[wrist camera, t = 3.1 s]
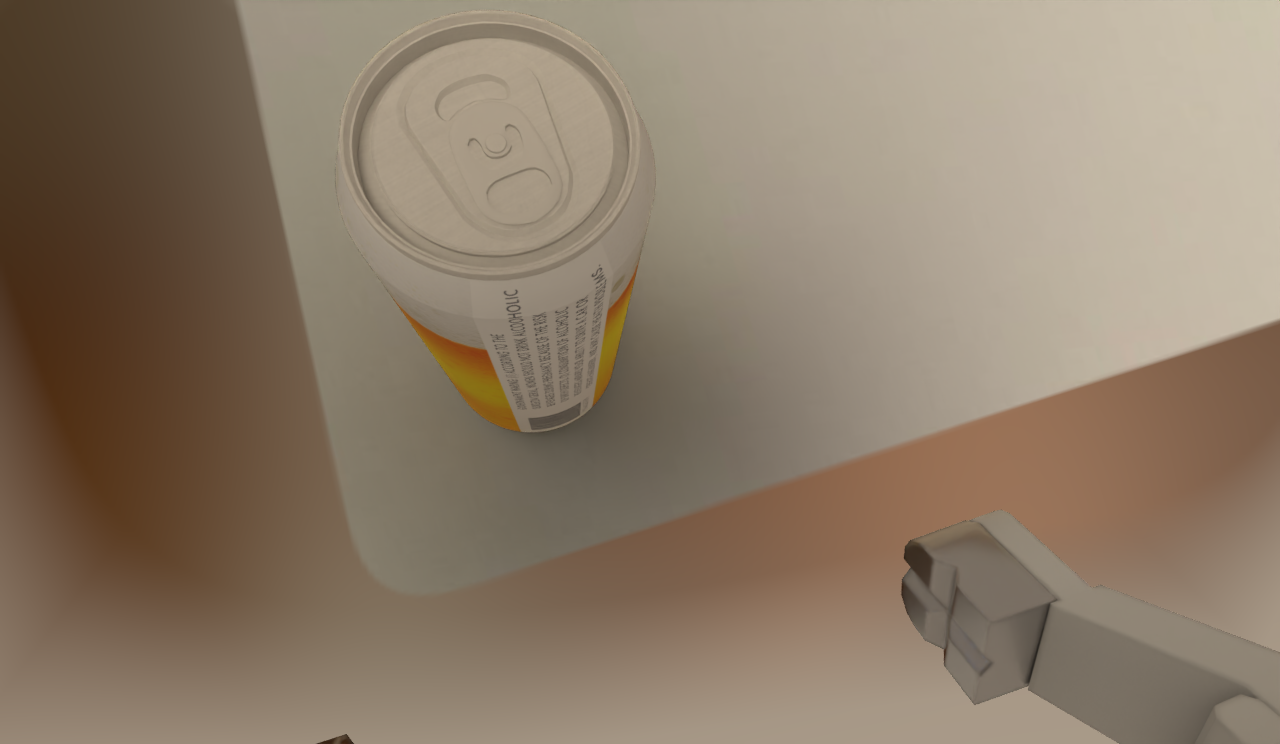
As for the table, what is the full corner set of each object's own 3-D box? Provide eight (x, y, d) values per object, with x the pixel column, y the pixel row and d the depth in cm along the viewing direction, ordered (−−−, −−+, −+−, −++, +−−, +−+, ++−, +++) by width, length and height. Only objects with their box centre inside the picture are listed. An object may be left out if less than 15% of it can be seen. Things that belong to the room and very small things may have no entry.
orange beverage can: (571, 259, 28) (572, -50, 14) (640, 393, 27) (722, 214, 13) (427, 321, 27) (261, 56, 12) (494, 463, 26) (397, 356, 11)
